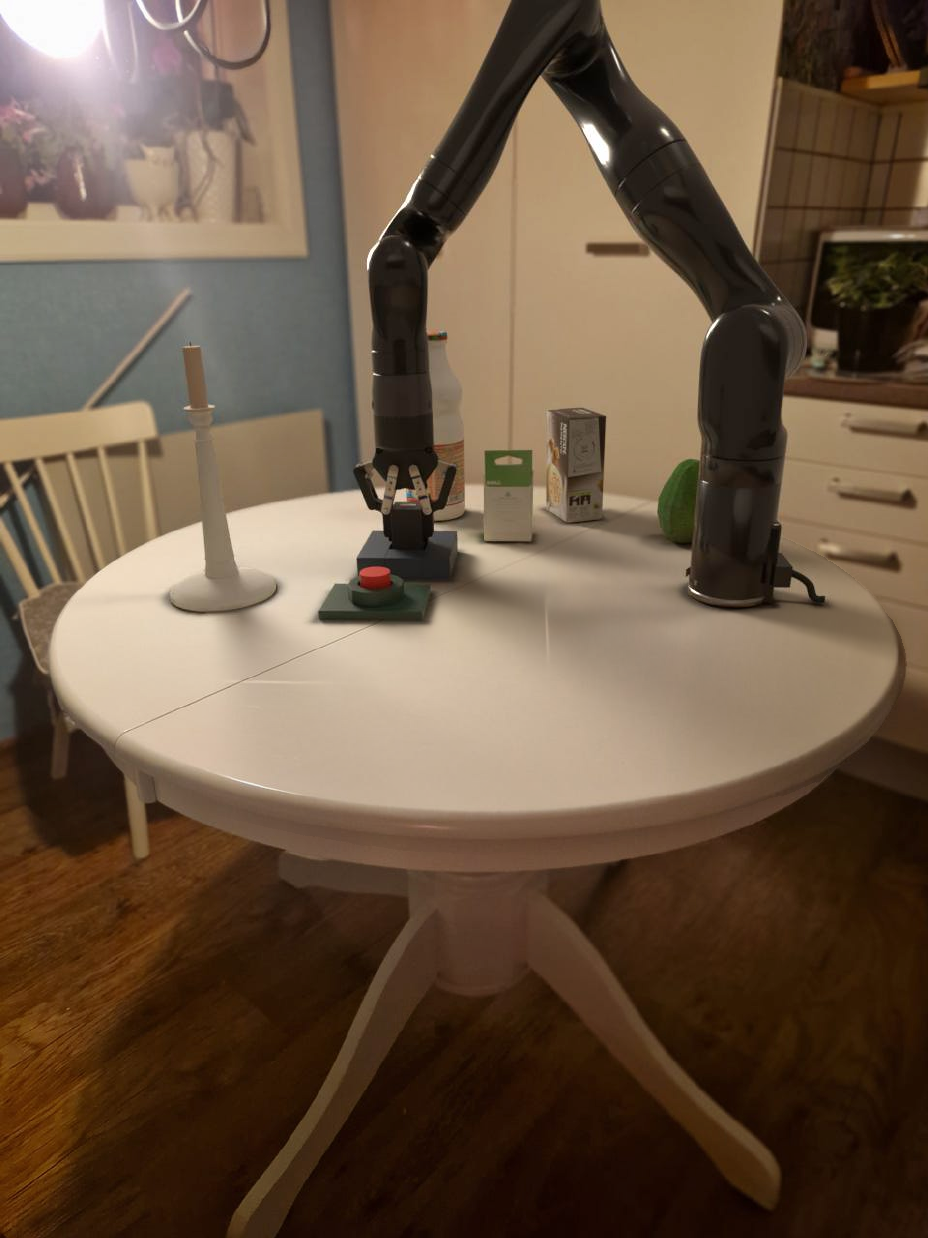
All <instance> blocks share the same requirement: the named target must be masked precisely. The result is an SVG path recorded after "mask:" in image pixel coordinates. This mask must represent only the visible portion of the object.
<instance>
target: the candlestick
mask: <svg viewBox="0 0 928 1238" xmlns="http://www.w3.org/2000/svg"><path fill="white" fill-rule="evenodd" d="M181 350H182V359H183V366H184V371H185V373H184V374H185V379H186V387H187V393H188V394H187V395H188V401H189V405H187V406H184V407H183V408H182V409H183V410H184V411H186V413H187V414H188V415H189V417H188V422H189V424H191V426H193V429H194V431H195V438H194V440H193V441H194V444H195V445H194V446H195V455H196V456H195V457H196V467H197V478H198V479H197V481H198V492H199V502H200V516H201V525H202V526H201V527H202V537H203V539H202V540H203V550H204V561H205V563H204V564H205V565H204V569H203V570H200V571H196V572H195V573H192V574H189V575H187V576H186V577H184V578H182V579H181V580H180V581H179V582H177V583H176V584H175V585H174V586H173V587H172V589H171V590H170V593H169V596H170V601H171V603H172V605H174V606H175V607H177V608H179V609H182V610H186V611H191V612H201V613H202V612H204V613H206V612H223V611H230V610H236V609H242V608H245V607H249V606H252V605H257V604H259V603H261V602H263V601H265V600H266V599H269V598H270V597H271V596H273V595H274V593H275V592H276V591H277V583H276V580H275V579H274V578H273V576H271V575H270V574H268V573H266V572H264V571H262V570H259V569H256V568H252V567H247V566H238V565H237V563H236V560H235V554H234V550H233V544H232V539H231V538H232V537H231V533H230V528H229V523H228V517H227V511H226V506H225V501H224V495H223V490H222V484H221V479H220V474H219V468H218V463H217V457H216V452H215V446H214V438H213V436H211V432H210V430H211V424H212V423H213V421H214V418H213V416H212V412H213V410H214V409H215V408H216V405H213V404H209V402H208V394H207V387H206V386H207V385H206V379H205V370H204V364H203V357H202V349H201V345H192V342H191V341H190V342H189V345H186V346H182V347H181ZM173 593H174V594H173ZM177 597H178V598H177Z"/></svg>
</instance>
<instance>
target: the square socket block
mask: <svg viewBox="0 0 928 1238" xmlns="http://www.w3.org/2000/svg"><path fill="white" fill-rule="evenodd" d="M458 547H459V545H458V530H434V532H433V535H432V537H429V540H428V541H426V546H425V549H424V550H406V549H393V545H392V541H389V538H388V537H385V536H384V533H383V530H372V531H371V532H370V534H369V536H368V537H367V539H366V540H365V542H364V544H363V546H362V548H361V549H360V551H359V553H358V555H357V556H356V570H357V572H356V573H357V577H358V576H360V573H359V572H360V571H361V570H362V569H364V568H368V567H385V568H388V569H389V570H390V574H391V575H395V576H399V577H400V578H401V579H402V580H404V581H405V580H406V581H407V580H410V581H412V580H417V581H420V580H421V581H451V579H452V575H453V571H454V568H455V567H454V566H455V562H456V558H457V555H458V549H459V548H458Z"/></svg>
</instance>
